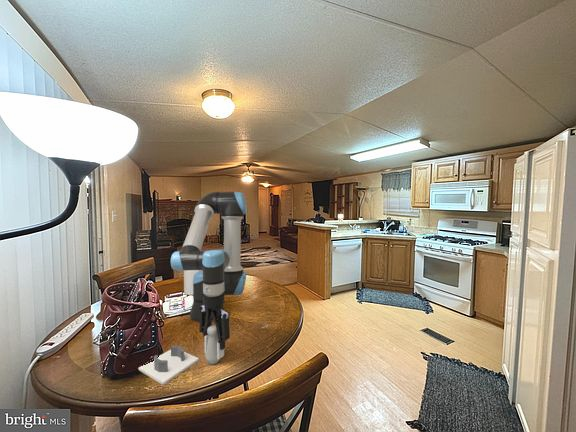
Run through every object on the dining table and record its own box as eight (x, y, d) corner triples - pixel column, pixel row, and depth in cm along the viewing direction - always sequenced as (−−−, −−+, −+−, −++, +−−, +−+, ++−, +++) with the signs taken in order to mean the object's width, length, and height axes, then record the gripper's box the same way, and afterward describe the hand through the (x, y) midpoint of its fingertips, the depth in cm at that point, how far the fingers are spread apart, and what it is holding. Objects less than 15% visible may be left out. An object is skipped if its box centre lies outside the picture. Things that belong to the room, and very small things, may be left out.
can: (208, 289, 163) (207, 260, 162) (197, 296, 151) (196, 265, 150) (191, 288, 166) (191, 259, 165) (179, 294, 153) (179, 263, 153)
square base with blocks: (138, 369, 84) (138, 358, 84) (174, 349, 96) (174, 338, 96) (162, 385, 77) (162, 372, 77) (198, 360, 89) (198, 349, 89)
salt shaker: (205, 368, 85) (205, 332, 84) (204, 358, 90) (204, 324, 90) (222, 363, 87) (222, 328, 87) (220, 354, 93) (220, 321, 92)
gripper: (188, 291, 89) (188, 351, 90) (225, 302, 80) (225, 369, 81) (204, 285, 96) (204, 341, 97) (240, 294, 87) (240, 356, 88)
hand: (214, 354), depth 89 cm, fingers closed on salt shaker, 6 cm apart
